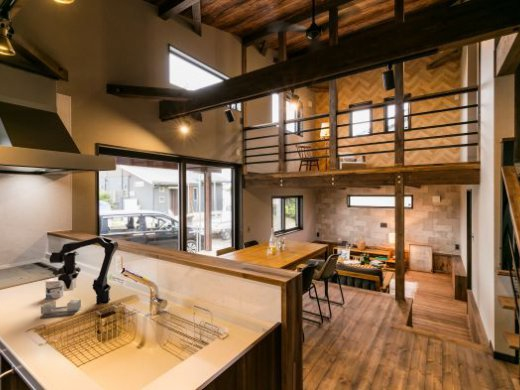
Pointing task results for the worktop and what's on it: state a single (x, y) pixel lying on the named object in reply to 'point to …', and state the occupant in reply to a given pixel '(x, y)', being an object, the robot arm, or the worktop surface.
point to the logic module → (72, 286)
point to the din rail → (59, 309)
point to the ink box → (54, 288)
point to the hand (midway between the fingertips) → (70, 287)
